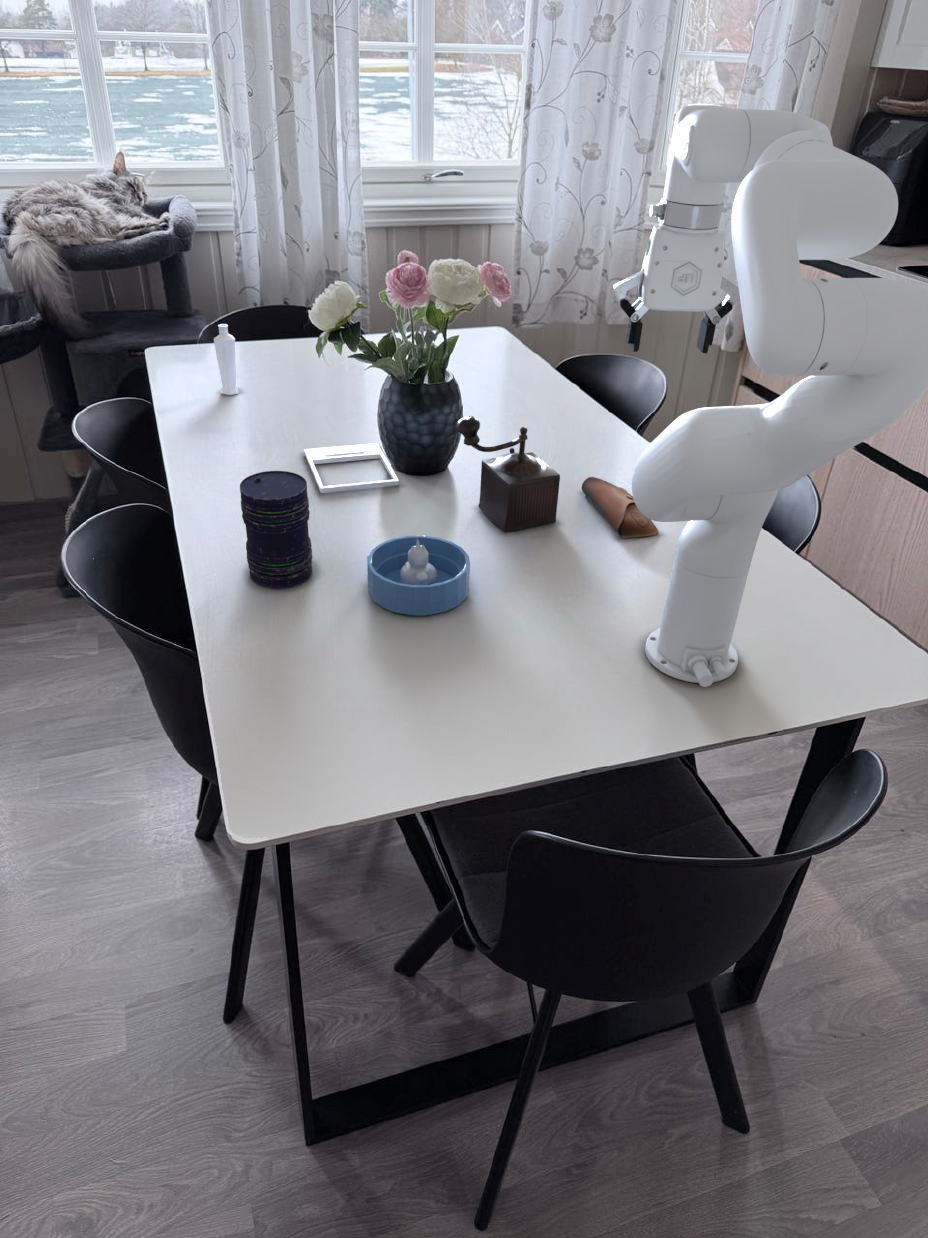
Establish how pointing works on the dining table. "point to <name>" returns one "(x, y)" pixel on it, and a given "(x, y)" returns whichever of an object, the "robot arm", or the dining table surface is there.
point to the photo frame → (348, 455)
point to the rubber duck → (418, 567)
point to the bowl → (418, 598)
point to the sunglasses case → (618, 509)
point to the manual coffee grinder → (514, 483)
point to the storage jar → (277, 529)
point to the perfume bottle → (226, 360)
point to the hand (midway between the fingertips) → (667, 349)
